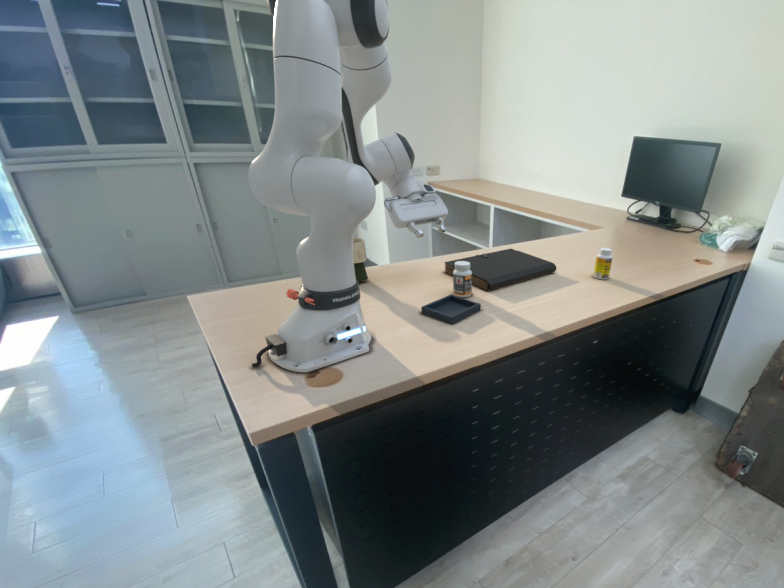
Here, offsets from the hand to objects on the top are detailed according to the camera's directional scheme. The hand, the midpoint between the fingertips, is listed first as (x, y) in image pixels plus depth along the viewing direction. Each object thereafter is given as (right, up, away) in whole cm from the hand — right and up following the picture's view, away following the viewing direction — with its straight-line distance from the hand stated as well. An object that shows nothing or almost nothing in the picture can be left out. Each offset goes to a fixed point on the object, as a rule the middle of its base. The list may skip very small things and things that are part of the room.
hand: (432, 234), depth 124 cm
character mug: (-26, -13, +8) cm, 30 cm away
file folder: (+21, -6, +22) cm, 31 cm away
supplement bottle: (+58, -8, +24) cm, 63 cm away
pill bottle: (+9, -18, +2) cm, 20 cm away
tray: (+7, -25, -9) cm, 28 cm away
